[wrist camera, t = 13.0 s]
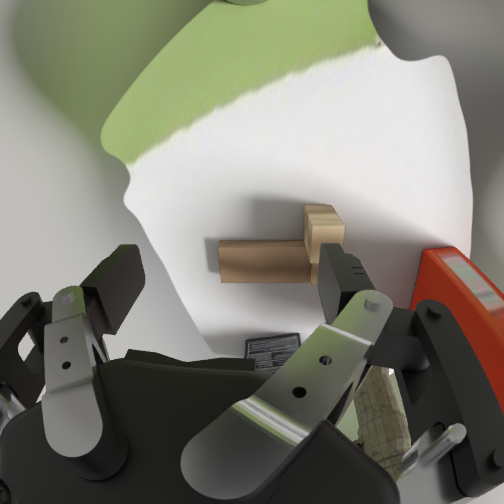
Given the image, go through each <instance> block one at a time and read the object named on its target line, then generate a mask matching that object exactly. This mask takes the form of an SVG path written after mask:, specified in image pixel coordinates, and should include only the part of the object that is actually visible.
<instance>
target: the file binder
mask: <svg viewBox="0 0 504 504" xmlns="http://www.w3.org/2000/svg"><path fill="white" fill-rule="evenodd" d="M425 299H431V300H436V301H439V302H441V303H443V304H444V305H446V306H447V307H448V308H449V309H450V311H451V312H452V314H453V316H454V317H455V319H456V321H457V322H458V324H459V326H460V327H461V329H462V331H463V332H464V334H465V336H466V338H467V339H468V341H469V343H470V345H471V346H472V348H473V350H474V352H475V354H476V356H477V358H478V359H479V361H480V363H481V365H482V367H483V369H484V371H485V373H486V375H487V377H488V380H489V382H490V384H491V386H492V388H493V390H494V393H495V395H496V397H497V399H498V402H499V404H500V407H501V409H502V411H503V414H504V295H503V293H502V292H501V291H500V290H499V289H498V288H497V287H496V286H495V285H494V284H493V283H492V282H491V281H490V280H489V279H488V278H487V277H486V276H485V275H484V274H483V273H482V272H481V271H480V270H479V269H478V268H477V267H476V266H475V265H474V264H473V263H472V262H471V261H470V260H469V259H468V258H467V257H466V256H465V255H463V254H462V253H461V252H460V251H459V250H458V249H457V248H456V247H446V248H434V249H425V250H423V254H422V259H421V264H420V268H419V273H418V277H417V282H416V286H415V290H414V294H413V298H412V301H411V305H410V309H409V310H412V311H415V308H416V305H417V304H418V302H420V301H422V300H425Z"/></svg>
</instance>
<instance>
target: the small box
mask: <svg viewBox="0 0 504 504" xmlns="http://www.w3.org/2000/svg"><path fill="white" fill-rule="evenodd" d="M300 346H301V340H300V334H299V333H296V334H289V335H282V336H275V337H267V338H259V339H251V340H246V341H245V357H244V358H251V359H256V369H260V370H264V371H267V372H270V373H272V374H275V372H276V371H277V370H278V369H279V368H280V367H281V366H282V365H283V364H284V363H285V362H286V361H287V360H288V359H289V358H290V357H291V356H292V355H293V354H294V353H295V352H296V351H297V350H298V349H299V348H300Z"/></svg>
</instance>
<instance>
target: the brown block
mask: <svg viewBox="0 0 504 504" xmlns="http://www.w3.org/2000/svg"><path fill="white" fill-rule="evenodd" d="M218 254H219V264H220V274H221V283H293V282H311V269H312V263H310V260H309V256H308V252H307V249H306V245H305V241H304V240H246V241H220V243H219V246H218Z"/></svg>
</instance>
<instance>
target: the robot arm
mask: <svg viewBox="0 0 504 504" xmlns="http://www.w3.org/2000/svg"><path fill="white" fill-rule="evenodd" d="M226 1H228V2H231V3H234V4H239V5H253V4H258V3H262V2H264V1H266V0H226ZM317 283H318V291H319V295H320V299H321V303H322V307H323V311H324V316H325V320H326V323H322V324H321V325H320V326H319V327H318V328H317V329H316V330H315V331H314V332H313V333H312V334H311V336H310V337H309V338H308V339H307V340H306V341H305V342H304V343H303V344H302V345H301V346H300V348H299V349H298V350H297V351H296V352H295V353H294V354H293V355H292V356H291V357H290V358H289V359H288V360H287V361H286V362H285V363H284V364H283V365H282V366H281V367H280V368H279V369H278V370H277V371H276V372H275V374H272V373H270V372H267V371H264V370H260V369H256V359H251V358H215V359H208V360H200V361H192V362H183V361H180V360H177V359H174V358H171V357H168V356H165V355H162V354H159V353H156V352H148V351H139V350H132V349H128V351H127V353H126V356H125V357H124V358H119V359H115V360H110V358H109V355H108V352H107V348H106V345H105V341H104V339H103V337H102V336H103V334H111V335H116V333H117V331H118V329H119V328H120V326H121V324H122V323H123V321H124V319H125V317H126V316H127V314H128V312H129V311H130V309H131V307H132V306H133V304H134V302H135V301H136V299H137V297H138V296H139V294H140V293H141V291H142V290H143V288H144V285H145V273H144V269H143V265H142V261H141V256H140V253H139V248H138V246H137V245H135V244H123V245H120V246H118V248H117V249H116V250H115V251H114V252H113V253H112V254H111V255H110V256H109V257H107V258H105V259H104V260H102V262H101V263H100V264H99V265H98V266H97V268H95V269H94V270H93V272H92V273H91V274H89V276H88V277H87V278H86V279H85V280H84V281H83V282H82V283H81V284H80V285H79V286H70V287H66V288H64V289H62V290H60V291H59V292H58V293H56V295H55V296H54V298H53V301H49V302H42V300H41V297H40V295H39V293H37V292H30V293H27V294H25V295H23V296H22V297H20V298H19V299H18V300H17V301H16V302H15V303H14V305H13V306H12V307H11V308H10V309H9V310H8V311H7V313H6V314H5V315H4V316H3V317H2V319H1V320H0V504H466V503H468V502H470V501H472V500H474V499H476V498H477V497H479V496H481V495H483V494H485V493H487V492H488V491H490V490H492V489H494V488H495V487H497V486H499V485H500V484H502V483H503V482H504V414H503V411H502V409H501V407H500V404H499V402H498V399H497V397H496V395H495V393H494V390H493V388H492V386H491V384H490V382H489V380H488V377H487V375H486V373H485V371H484V369H483V367H482V365H481V363H480V361H479V359H478V358H477V356H476V354H475V352H474V350H473V348H472V346H471V345H470V343H469V341H468V339H467V338H466V336H465V334H464V332H463V331H462V329H461V327H460V326H459V324H458V322H457V321H456V319H455V317H454V316H453V314H452V312H451V311H450V309H449V308H448V307H447V306H446V305H444V304H443V303H441V302H439V301H436V300H431V299H425V300H422V301H420V302H418V304H417V305H416V308H415V311H412V310H406V309H400V308H396V307H393V302H392V300H391V299H390V298H389V297H388V296H387V295H385V294H384V293H382V292H379V291H376V290H375V288H374V286H373V284H372V283H371V281H370V279H369V277H368V275H367V274H366V271H365V270H364V268H363V266H362V264H361V262H360V261H359V260H358V259H357V258H356V257H354V256H353V255H352V254H345V253H344V251H343V249H342V247H341V245H340V243H321V246H320V256H319V267H318V278H317ZM27 332H28V334H29V335H30V338H31V339H32V341H33V343H34V344H35V346H34V347H33V349H32V350H31V352H30V353H29V355H28V356H27V358H26V360H25V361H23V360H22V358H21V357H20V355H19V353H18V345H19V343H20V341H21V340H22V338H23V337H24V336H25V334H26V333H27ZM372 366H378V367H385V368H392V369H394V373H395V376H396V379H397V383H398V387H399V390H400V394H401V397H402V401H403V405H404V409H405V413H406V417H407V422H408V426H409V431H410V435H411V440H412V446H411V447H410V448H409V449H408V450H407V451H406V452H405V454H404V456H403V458H402V462H401V474H400V477H399V479H398V480H397V482H395V480H394V479H393V477H392V476H391V475H390V474H389V472H388V471H386V470H385V469H384V468H383V467H382V466H380V465H379V464H378V463H377V462H376V461H374V460H373V459H372V458H371V457H370V456H368V455H367V454H366V453H365V452H364V451H363V450H361V449H360V448H359V447H358V446H357V445H356V444H354V443H353V442H352V441H351V440H350V439H349V438H348V437H346V436H345V435H344V434H343V433H342V432H341V431H340V430H339V429H337V428H336V426H337V425H338V423H339V422H340V420H341V419H342V417H343V415H344V413H345V412H346V410H347V408H348V406H349V405H350V403H351V401H352V400H353V398H354V396H355V395H356V393H357V392H358V390H359V388H360V387H361V385H362V383H363V382H364V380H365V378H366V376H367V375H368V373H369V371H370V369H371V368H372ZM45 384H46V393H45V394H44V395H43V396H42V400H41V401H39V402H37V403H36V401H37V399H38V397H39V395H40V393H41V391H42V389H43V387H44V386H45ZM35 403H36V404H35Z"/></svg>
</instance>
